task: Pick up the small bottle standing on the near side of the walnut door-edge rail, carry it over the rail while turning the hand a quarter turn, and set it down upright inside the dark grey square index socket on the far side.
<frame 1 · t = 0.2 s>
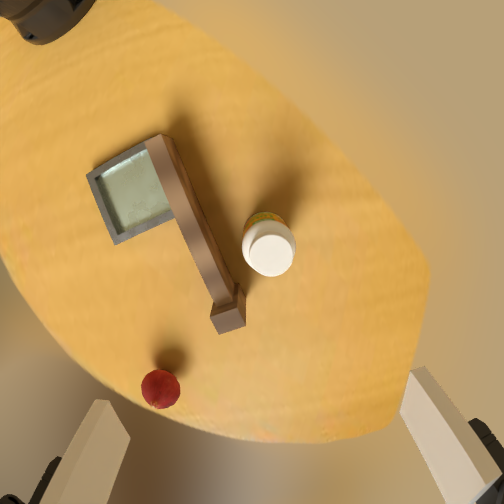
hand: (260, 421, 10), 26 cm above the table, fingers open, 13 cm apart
onion: (166, 373, 41), on the table
index socket: (135, 191, 34), on the table
supplement bottle: (265, 232, 36), on the table
door edge rail: (197, 220, 35), on the table
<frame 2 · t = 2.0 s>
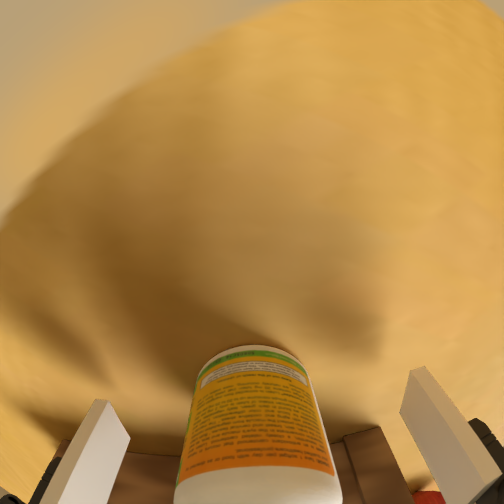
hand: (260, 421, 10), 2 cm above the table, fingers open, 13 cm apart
onion: (416, 490, 18), on the table
supplement bottle: (253, 384, 13), on the table
door edge rail: (196, 464, 15), on the table
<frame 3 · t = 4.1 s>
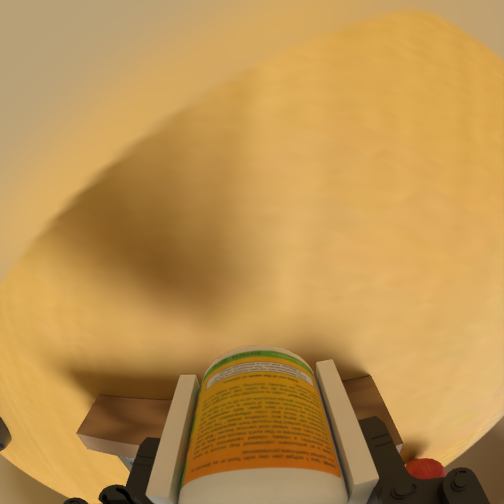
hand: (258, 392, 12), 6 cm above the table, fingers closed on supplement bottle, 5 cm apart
onion: (411, 458, 23), on the table
supplement bottle: (258, 384, 13), point 5 cm above the table, touching gripper
door edge rail: (218, 408, 20), on the table
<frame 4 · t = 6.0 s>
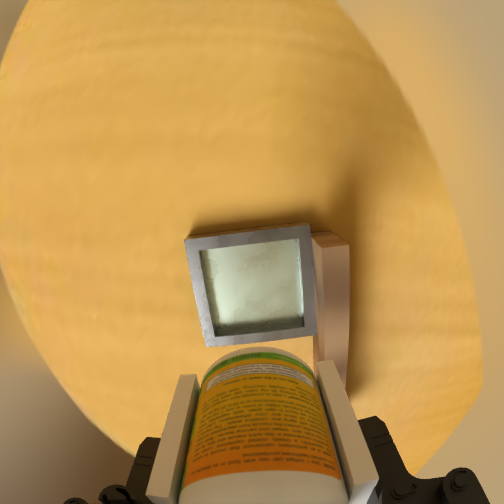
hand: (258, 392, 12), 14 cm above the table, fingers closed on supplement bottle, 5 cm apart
index socket: (254, 284, 25), on the table
supplement bottle: (258, 386, 13), point 13 cm above the table, touching gripper
door edge rail: (323, 338, 27), on the table
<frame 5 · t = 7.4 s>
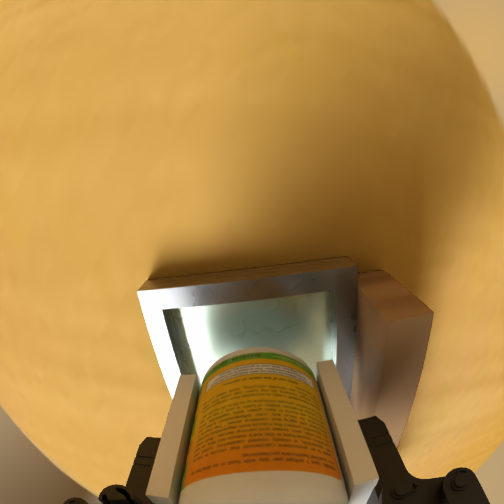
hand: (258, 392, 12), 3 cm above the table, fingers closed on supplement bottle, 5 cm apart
index socket: (257, 354, 15), on the table
supplement bottle: (258, 386, 13), point 2 cm above the table, touching gripper
door edge rail: (354, 413, 17), on the table
when the fingers open (2 cm above the table, at t = 8.2 s): supplement bottle drops 2 cm, resting on index socket.
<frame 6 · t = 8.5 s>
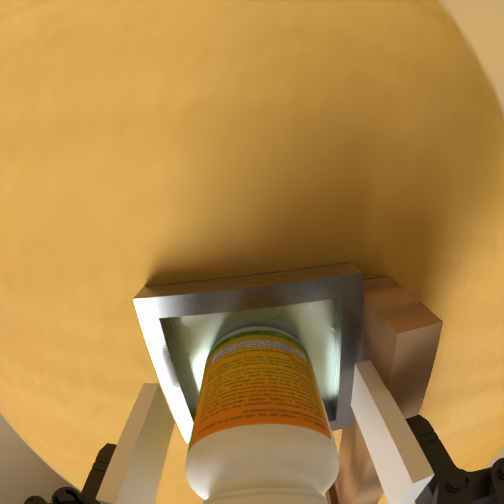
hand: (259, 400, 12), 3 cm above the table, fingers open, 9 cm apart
index socket: (258, 363, 15), on the table
supplement bottle: (257, 364, 14), resting on index socket
door edge rail: (357, 421, 16), on the table
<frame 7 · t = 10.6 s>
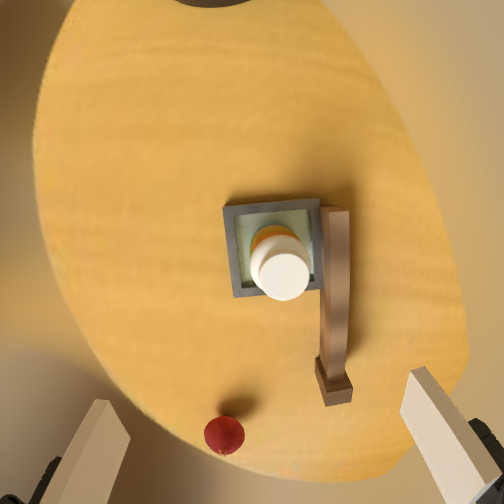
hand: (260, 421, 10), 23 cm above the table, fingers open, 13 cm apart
onion: (226, 416, 39), on the table
index socket: (274, 246, 32), on the table
supplement bottle: (274, 246, 32), resting on index socket
door edge rail: (328, 294, 34), on the table
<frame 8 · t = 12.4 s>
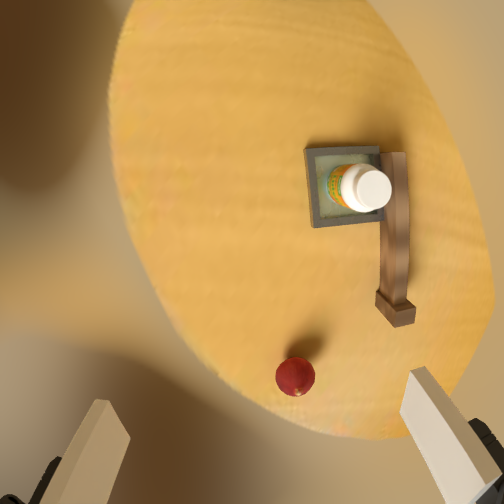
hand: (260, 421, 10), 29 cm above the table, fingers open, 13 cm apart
onion: (292, 361, 43), on the table
index socket: (344, 185, 36), on the table
supplement bottle: (344, 185, 36), resting on index socket
door edge rail: (386, 228, 38), on the table
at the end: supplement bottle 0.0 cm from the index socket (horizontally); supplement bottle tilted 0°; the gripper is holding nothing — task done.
